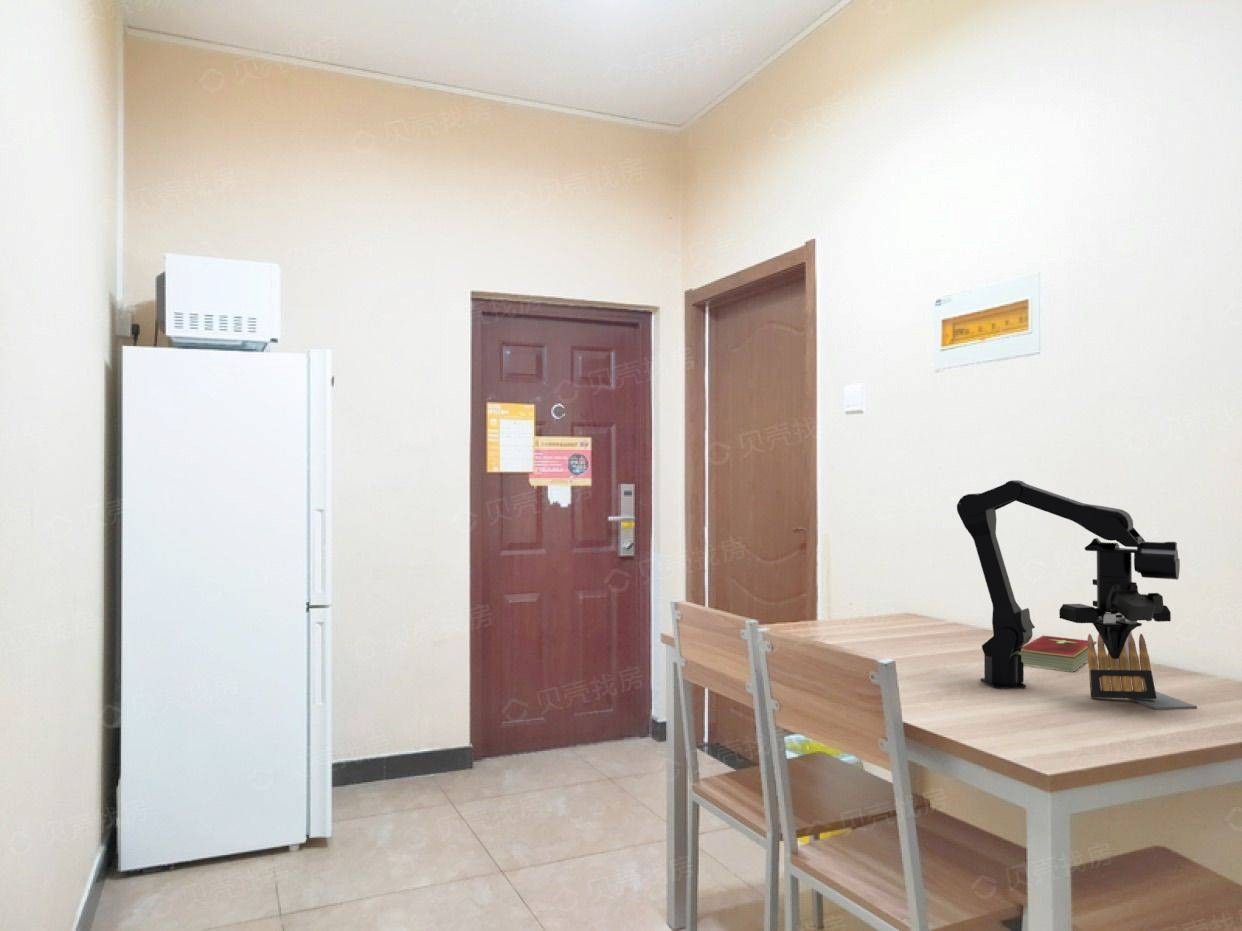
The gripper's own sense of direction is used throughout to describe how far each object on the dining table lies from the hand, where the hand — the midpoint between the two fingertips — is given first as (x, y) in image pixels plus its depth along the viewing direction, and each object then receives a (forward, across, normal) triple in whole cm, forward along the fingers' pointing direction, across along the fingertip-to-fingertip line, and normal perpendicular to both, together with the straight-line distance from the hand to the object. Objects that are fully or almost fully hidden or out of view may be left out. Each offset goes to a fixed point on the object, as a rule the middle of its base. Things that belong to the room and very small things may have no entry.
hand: (1114, 658), depth 162 cm
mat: (+8, +8, 0) cm, 11 cm away
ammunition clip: (+8, +2, 0) cm, 8 cm away
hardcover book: (+9, +10, +34) cm, 36 cm away
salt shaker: (+8, +16, +20) cm, 27 cm away
